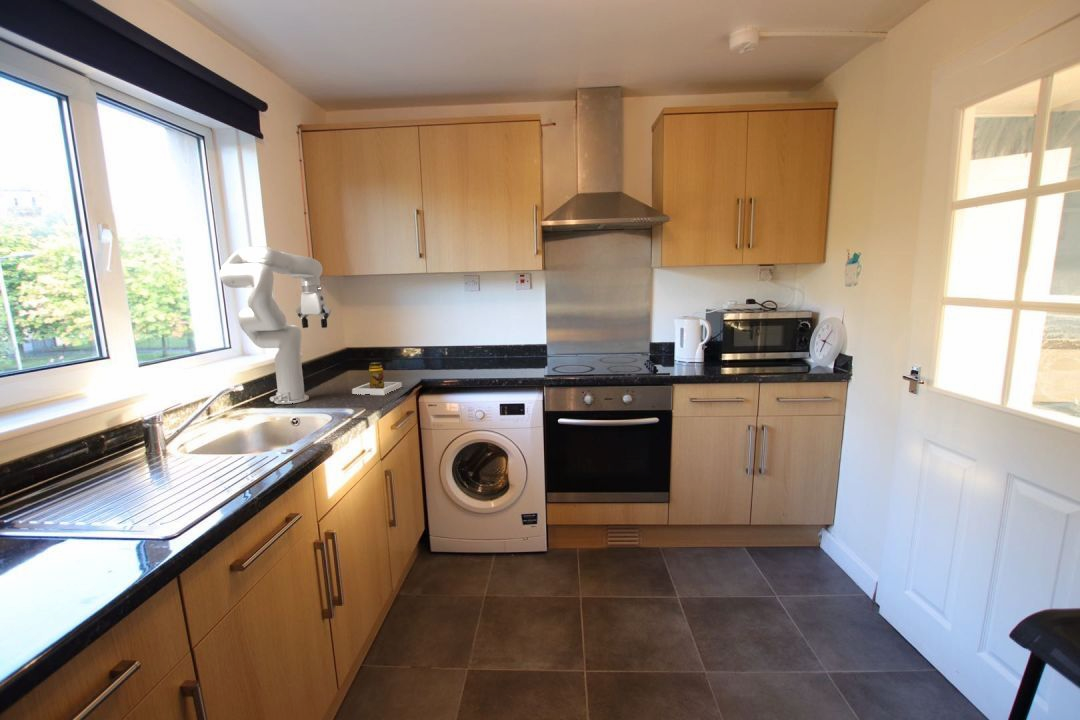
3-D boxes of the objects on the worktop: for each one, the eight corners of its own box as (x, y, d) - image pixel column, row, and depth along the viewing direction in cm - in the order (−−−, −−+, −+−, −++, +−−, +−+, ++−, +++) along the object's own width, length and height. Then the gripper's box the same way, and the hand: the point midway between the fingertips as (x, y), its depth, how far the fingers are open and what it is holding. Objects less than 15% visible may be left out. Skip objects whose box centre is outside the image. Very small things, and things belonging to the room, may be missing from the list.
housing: (384, 395, 197) (383, 389, 197) (352, 394, 200) (352, 388, 200) (401, 387, 213) (401, 382, 212) (372, 387, 216) (371, 381, 215)
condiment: (381, 391, 202) (379, 364, 201) (362, 390, 203) (360, 364, 201) (388, 387, 209) (386, 361, 208) (370, 387, 210) (368, 361, 209)
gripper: (333, 289, 210) (336, 327, 213) (300, 290, 214) (303, 327, 216) (323, 289, 203) (326, 328, 206) (288, 290, 206) (292, 328, 209)
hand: (314, 327), depth 211 cm, fingers open, 9 cm apart
